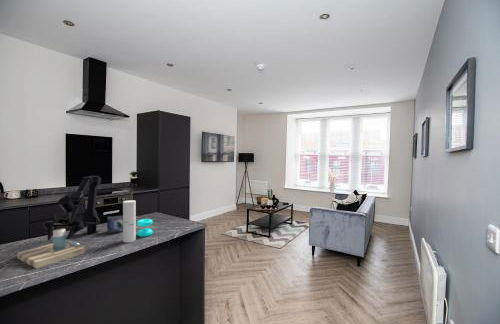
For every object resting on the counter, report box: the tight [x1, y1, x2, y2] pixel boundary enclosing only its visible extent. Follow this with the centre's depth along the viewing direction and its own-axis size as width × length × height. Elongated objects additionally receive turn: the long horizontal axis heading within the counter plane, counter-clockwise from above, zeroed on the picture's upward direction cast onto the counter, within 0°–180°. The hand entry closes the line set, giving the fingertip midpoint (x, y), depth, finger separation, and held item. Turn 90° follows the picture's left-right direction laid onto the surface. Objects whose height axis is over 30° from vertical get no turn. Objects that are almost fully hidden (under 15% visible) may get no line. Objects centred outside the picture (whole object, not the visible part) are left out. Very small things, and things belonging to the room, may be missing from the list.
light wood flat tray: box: [16, 243, 85, 269], centre depth 129 cm, size 22×21×3 cm
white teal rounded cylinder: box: [52, 227, 67, 253], centre depth 132 cm, size 6×6×13 cm
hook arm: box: [66, 238, 81, 247], centre depth 137 cm, size 14×2×2 cm, turn 61°
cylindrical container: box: [122, 199, 137, 243], centre depth 153 cm, size 7×7×25 cm
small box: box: [106, 215, 123, 235], centre depth 170 cm, size 11×6×10 cm, turn 117°
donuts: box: [136, 218, 154, 238], centre depth 164 cm, size 10×10×10 cm
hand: (57, 239), depth 130 cm, fingers open, 9 cm apart
